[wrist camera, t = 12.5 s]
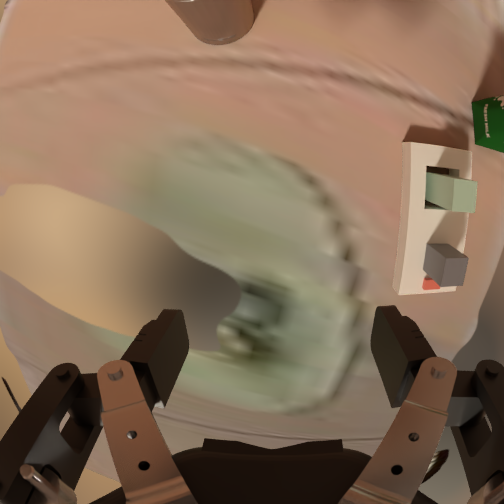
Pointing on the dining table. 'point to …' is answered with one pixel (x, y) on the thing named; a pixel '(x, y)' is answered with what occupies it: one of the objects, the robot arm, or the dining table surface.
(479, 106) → the milk carton
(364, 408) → the dining table surface
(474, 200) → the green plug
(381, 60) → the dining table surface
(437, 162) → the white plate with window
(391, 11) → the dining table surface
